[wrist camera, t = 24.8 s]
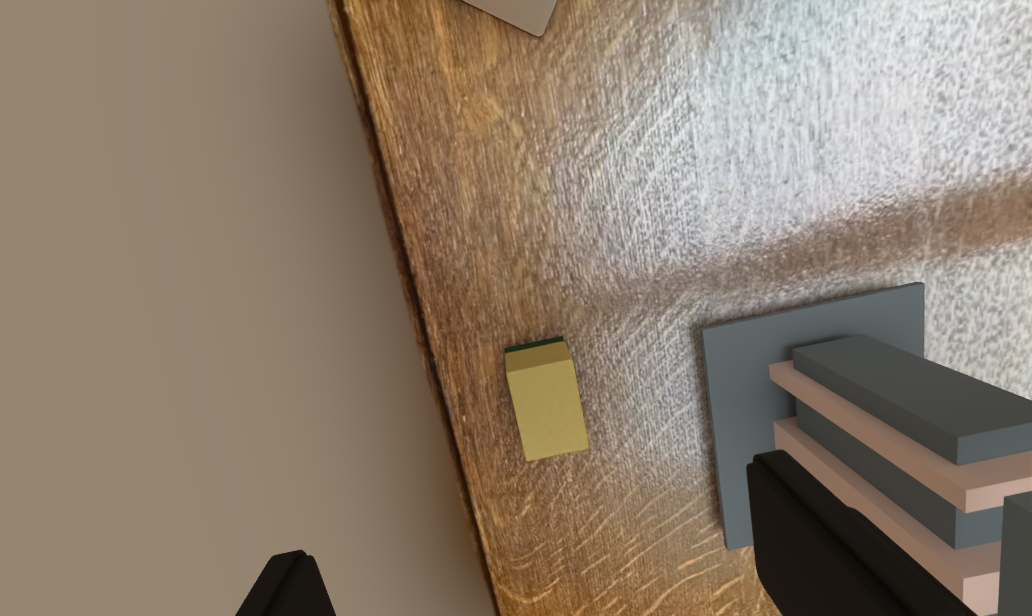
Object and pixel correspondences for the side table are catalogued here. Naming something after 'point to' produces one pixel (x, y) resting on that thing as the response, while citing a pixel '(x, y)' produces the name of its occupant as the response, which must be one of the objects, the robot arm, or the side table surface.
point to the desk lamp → (880, 436)
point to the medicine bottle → (520, 12)
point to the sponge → (546, 398)
